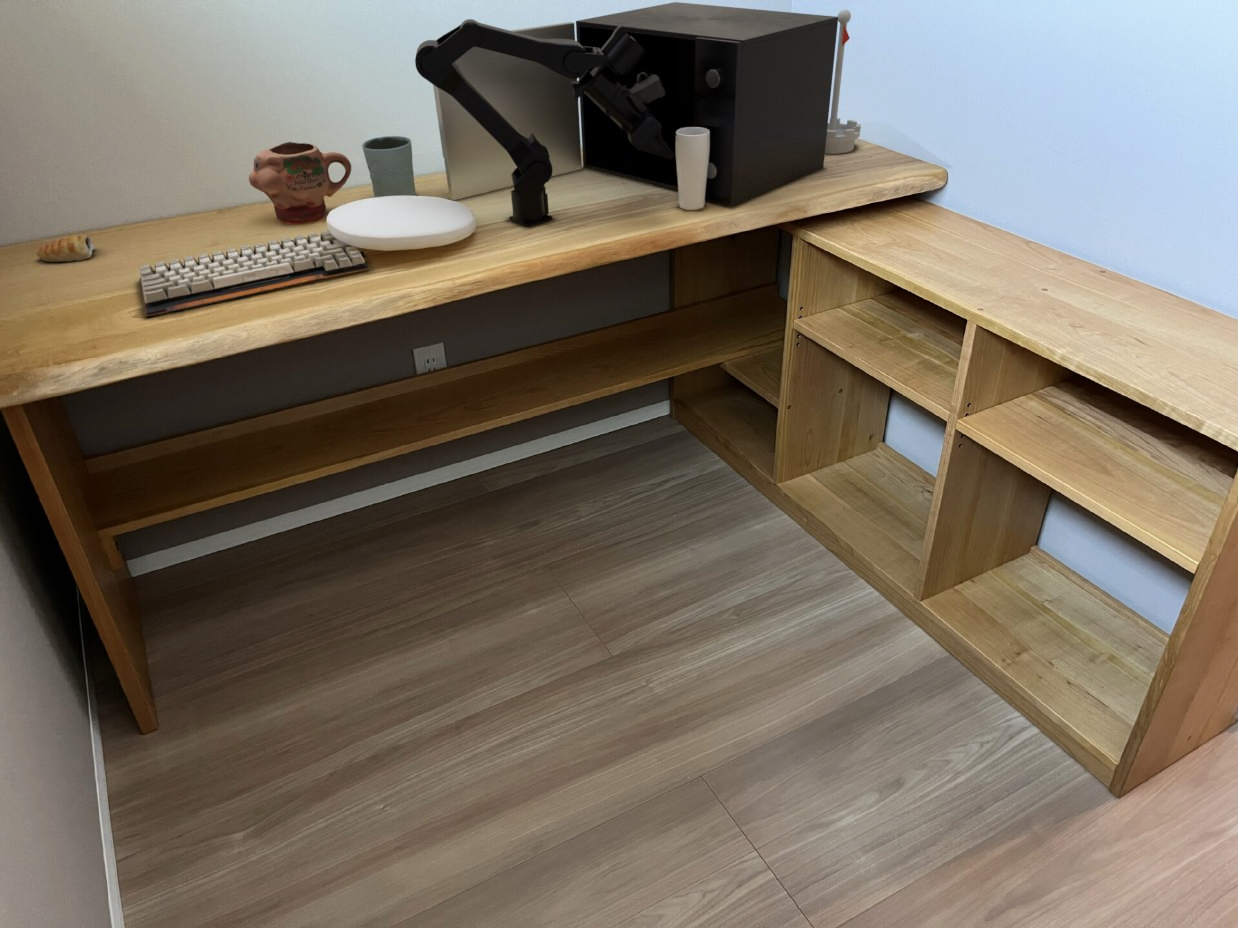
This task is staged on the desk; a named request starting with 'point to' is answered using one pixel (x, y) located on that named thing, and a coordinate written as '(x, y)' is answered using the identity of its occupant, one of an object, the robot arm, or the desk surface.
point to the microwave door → (508, 116)
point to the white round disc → (401, 222)
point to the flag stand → (838, 133)
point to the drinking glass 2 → (692, 166)
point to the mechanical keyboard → (245, 271)
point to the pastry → (67, 249)
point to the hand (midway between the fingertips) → (667, 151)
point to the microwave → (721, 94)
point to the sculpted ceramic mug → (297, 180)
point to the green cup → (390, 165)
